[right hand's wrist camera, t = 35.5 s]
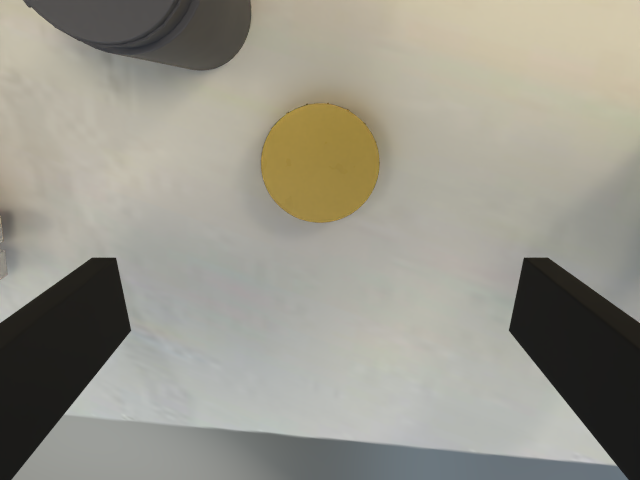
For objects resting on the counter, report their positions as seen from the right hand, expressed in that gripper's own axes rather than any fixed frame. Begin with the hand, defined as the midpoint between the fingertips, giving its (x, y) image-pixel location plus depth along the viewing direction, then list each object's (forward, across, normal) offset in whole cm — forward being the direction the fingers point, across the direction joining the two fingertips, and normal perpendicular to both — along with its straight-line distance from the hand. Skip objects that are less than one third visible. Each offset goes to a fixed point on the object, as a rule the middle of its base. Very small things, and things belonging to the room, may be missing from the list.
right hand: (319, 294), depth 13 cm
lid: (+24, 0, 0) cm, 24 cm away
